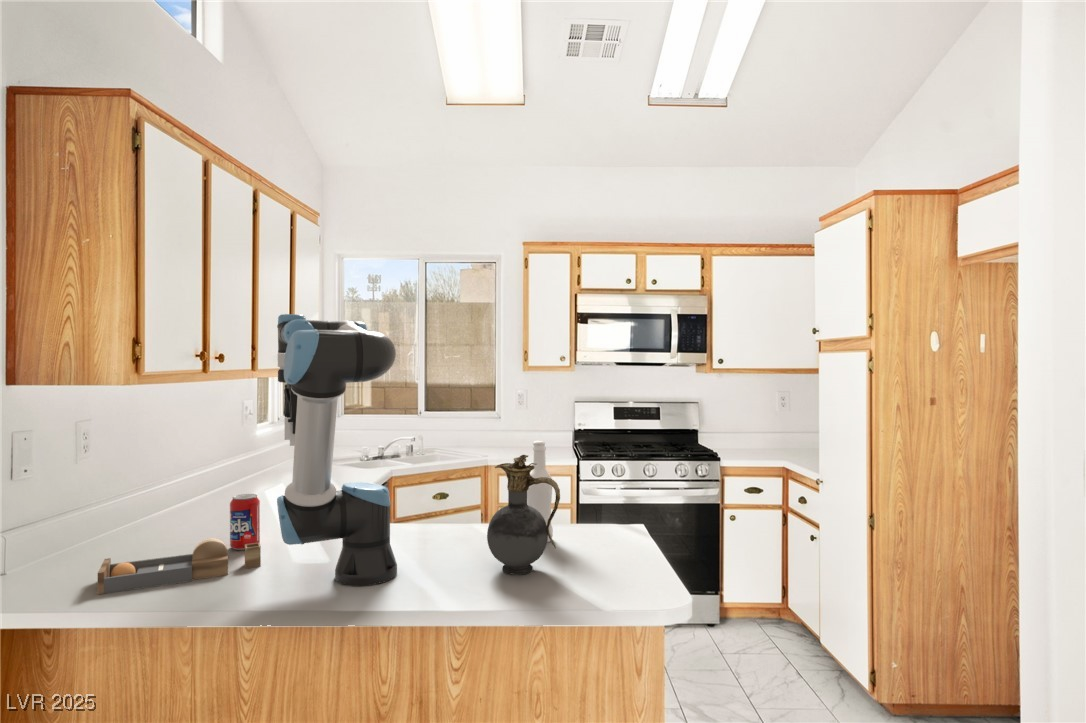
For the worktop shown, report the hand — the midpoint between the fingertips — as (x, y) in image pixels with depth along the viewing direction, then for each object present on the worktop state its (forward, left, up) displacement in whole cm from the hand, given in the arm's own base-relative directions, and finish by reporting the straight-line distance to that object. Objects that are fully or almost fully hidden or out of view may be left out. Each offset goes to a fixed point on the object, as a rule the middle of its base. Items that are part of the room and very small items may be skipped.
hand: (292, 442), depth 182 cm
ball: (-10, +40, -28) cm, 50 cm away
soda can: (+8, +12, -31) cm, 34 cm away
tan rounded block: (-10, +21, -31) cm, 39 cm away
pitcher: (-47, -51, -31) cm, 76 cm away
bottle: (-25, -67, -31) cm, 78 cm away
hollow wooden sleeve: (-10, +11, -31) cm, 34 cm away
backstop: (-10, +44, -31) cm, 54 cm away
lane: (-10, +34, -31) cm, 47 cm away
